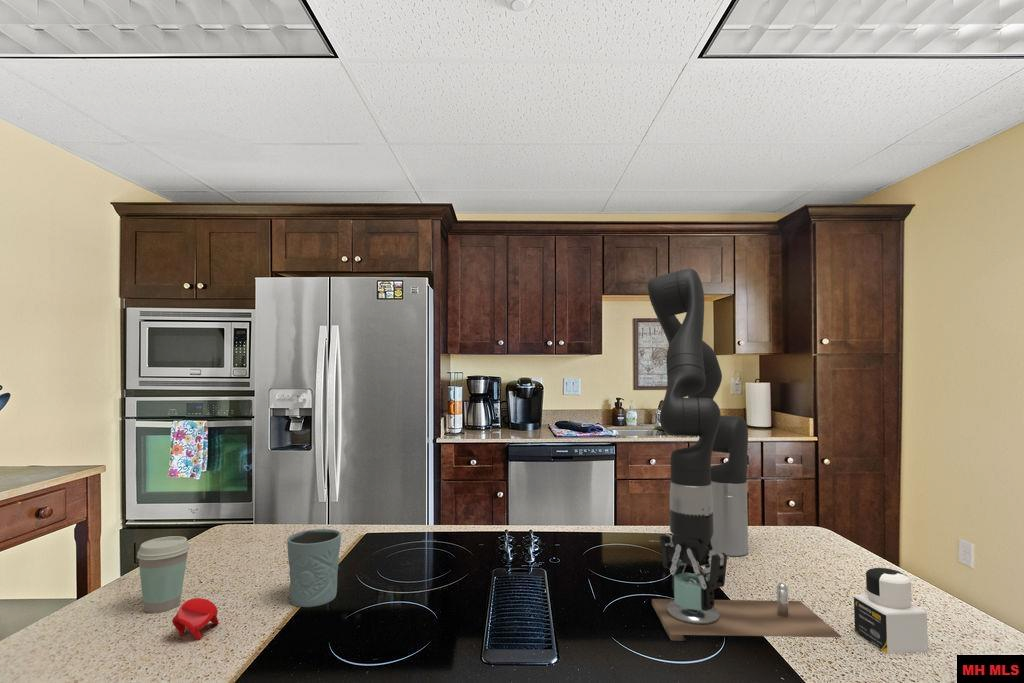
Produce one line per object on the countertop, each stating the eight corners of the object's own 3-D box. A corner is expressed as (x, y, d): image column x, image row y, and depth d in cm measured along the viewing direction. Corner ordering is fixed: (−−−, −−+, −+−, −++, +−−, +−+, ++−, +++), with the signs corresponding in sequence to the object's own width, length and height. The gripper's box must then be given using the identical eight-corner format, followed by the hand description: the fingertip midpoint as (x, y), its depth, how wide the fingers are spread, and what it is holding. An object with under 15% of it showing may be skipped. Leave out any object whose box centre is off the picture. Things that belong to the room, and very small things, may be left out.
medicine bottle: (854, 637, 91) (851, 564, 92) (893, 635, 92) (891, 563, 93) (886, 660, 84) (883, 580, 85) (929, 658, 85) (926, 579, 85)
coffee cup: (198, 600, 106) (200, 537, 106) (157, 619, 98) (159, 551, 98) (166, 594, 108) (168, 533, 109) (123, 612, 100) (125, 546, 101)
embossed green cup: (300, 613, 100) (302, 547, 101) (276, 598, 107) (277, 535, 107) (350, 596, 108) (351, 535, 108) (324, 583, 114) (325, 525, 115)
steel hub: (661, 602, 103) (661, 569, 103) (709, 603, 102) (709, 570, 103) (674, 624, 94) (673, 589, 94) (727, 625, 93) (726, 589, 94)
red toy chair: (191, 628, 87) (221, 597, 92) (163, 611, 89) (195, 581, 94) (201, 653, 92) (229, 622, 97) (175, 637, 94) (204, 607, 98)
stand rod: (775, 612, 98) (774, 581, 99) (785, 612, 98) (784, 581, 99) (780, 616, 97) (779, 585, 97) (790, 617, 97) (789, 585, 97)
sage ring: (667, 599, 99) (666, 576, 100) (691, 592, 102) (691, 570, 103) (693, 612, 94) (692, 588, 94) (718, 605, 97) (718, 582, 97)
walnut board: (651, 604, 104) (651, 598, 104) (800, 606, 103) (800, 600, 103) (670, 640, 90) (670, 634, 90) (842, 643, 89) (842, 637, 89)
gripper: (648, 501, 104) (649, 591, 103) (707, 519, 91) (709, 623, 90) (677, 497, 107) (678, 584, 106) (738, 514, 94) (740, 613, 94)
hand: (692, 601), depth 98 cm, fingers closed on sage ring, 6 cm apart
